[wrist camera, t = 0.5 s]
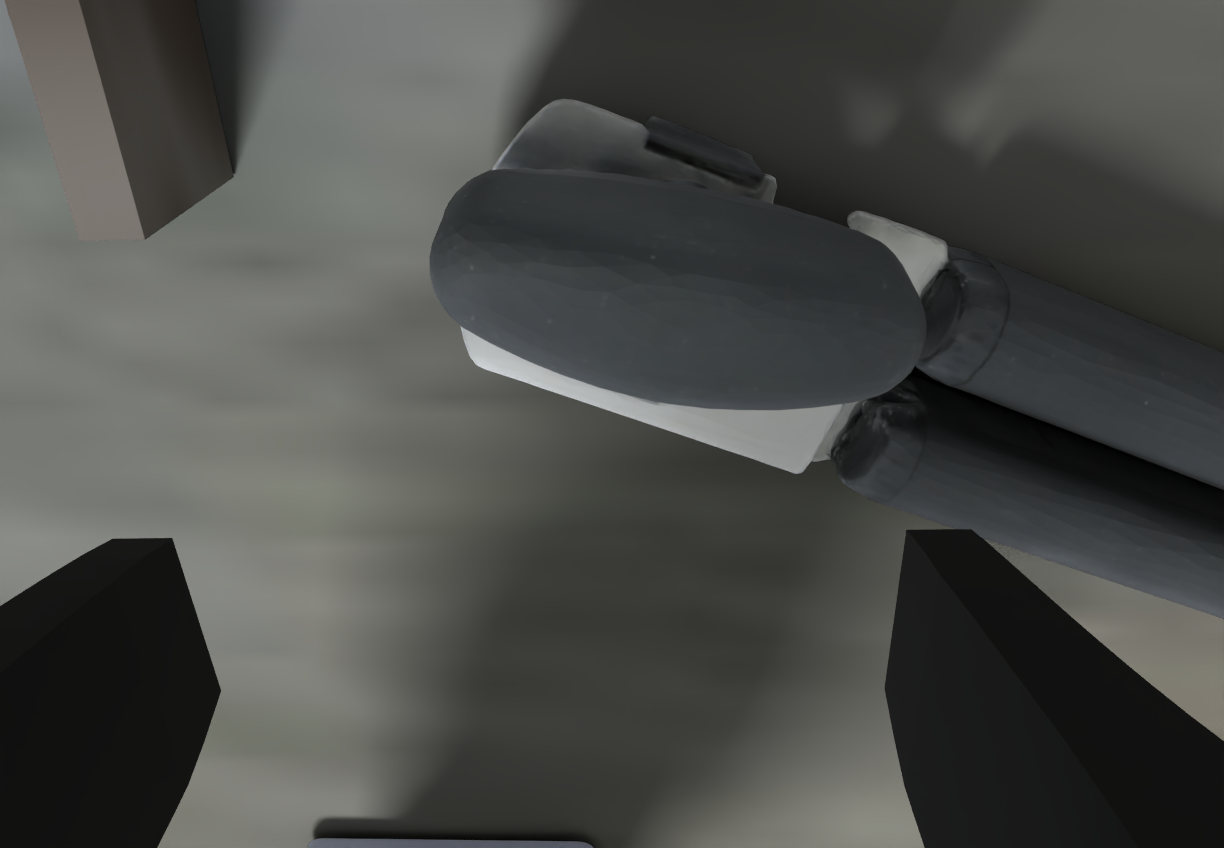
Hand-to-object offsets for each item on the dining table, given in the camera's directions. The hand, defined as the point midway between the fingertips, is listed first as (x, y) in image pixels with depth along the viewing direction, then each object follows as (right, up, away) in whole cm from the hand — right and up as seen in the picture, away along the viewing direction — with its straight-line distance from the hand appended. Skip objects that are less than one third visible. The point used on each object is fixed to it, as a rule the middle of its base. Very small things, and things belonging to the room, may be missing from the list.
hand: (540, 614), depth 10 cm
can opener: (+7, +3, +9) cm, 12 cm away
